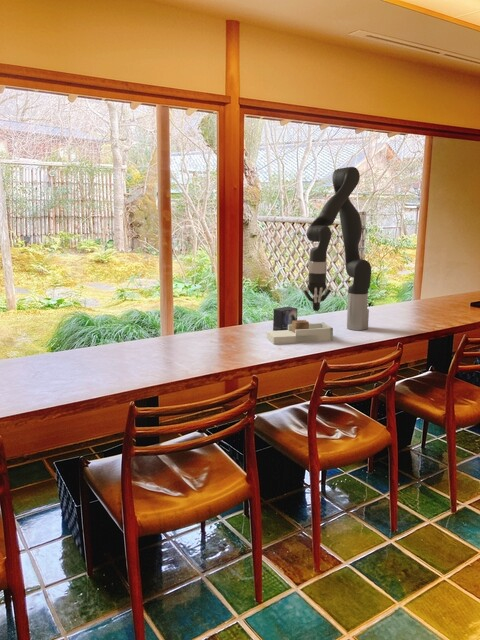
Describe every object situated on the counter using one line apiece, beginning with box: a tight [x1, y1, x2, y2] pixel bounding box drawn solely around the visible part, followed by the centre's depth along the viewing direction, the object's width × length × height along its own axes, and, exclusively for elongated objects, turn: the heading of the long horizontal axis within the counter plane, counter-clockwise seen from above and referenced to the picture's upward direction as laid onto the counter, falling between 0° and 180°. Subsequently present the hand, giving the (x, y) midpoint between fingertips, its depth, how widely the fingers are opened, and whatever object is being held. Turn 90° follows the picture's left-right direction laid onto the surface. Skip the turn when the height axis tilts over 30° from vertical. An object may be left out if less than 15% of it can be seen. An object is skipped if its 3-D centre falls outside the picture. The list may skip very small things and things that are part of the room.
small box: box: [272, 305, 298, 331], centre depth 255 cm, size 11×6×10 cm, turn 129°
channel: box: [265, 322, 334, 345], centre depth 238 cm, size 27×11×6 cm, turn 103°
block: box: [292, 319, 310, 333], centre depth 237 cm, size 6×5×5 cm
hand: (316, 310), depth 237 cm, fingers closed
